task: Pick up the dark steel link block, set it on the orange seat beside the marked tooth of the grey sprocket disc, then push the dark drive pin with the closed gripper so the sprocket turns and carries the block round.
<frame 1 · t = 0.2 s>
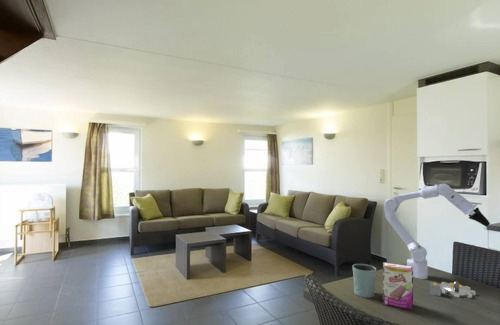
hand: (487, 223, 133), 31 cm above the table, tool tilted 50°, fingers open, 7 cm apart
candy bar box: (397, 305, 118), on the table
sprocket: (455, 285, 130), point 4 cm above the table, hinge at 0.0°
teal cup: (364, 293, 129), on the table
link block: (435, 294, 128), point 1 cm above the table, touching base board
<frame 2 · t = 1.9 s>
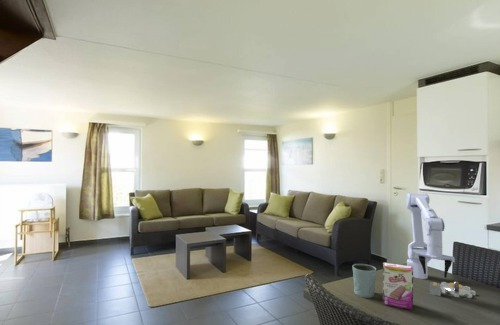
hand: (434, 275, 128), 9 cm above the table, tool pointing down, fingers open, 7 cm apart
nothing on the table moved.
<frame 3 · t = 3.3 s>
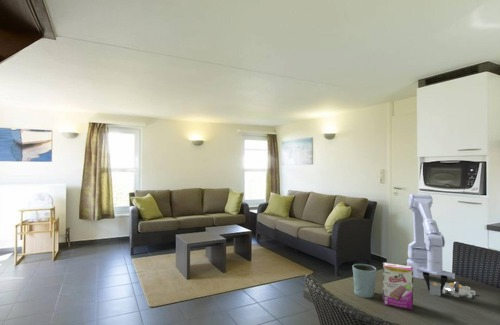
hand: (435, 291, 128), 2 cm above the table, tool pointing down, fingers closed on link block, 4 cm apart
link block: (435, 294, 128), point 1 cm above the table, touching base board, gripper
everything else where it was.
when the fingers open (5 cm above the table, at t = 6.2 s): link block stays where it is, resting on sprocket.
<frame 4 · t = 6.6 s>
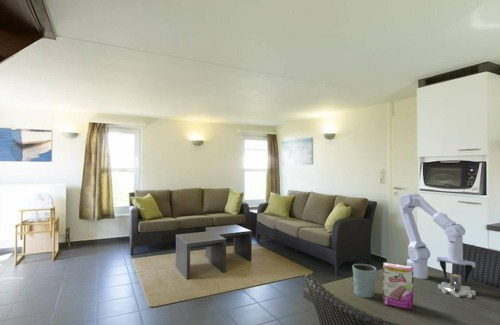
hand: (455, 279, 133), 5 cm above the table, tool pointing down, fingers open, 7 cm apart
sprocket: (455, 285, 130), point 4 cm above the table, hinge at 0.0°, touching link block
link block: (455, 285, 133), point 3 cm above the table, touching sprocket
everything else where it was.
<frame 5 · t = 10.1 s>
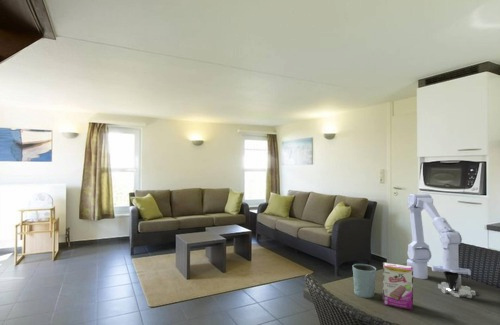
hand: (451, 288, 127), 3 cm above the table, tool pointing down, fingers closed, pressing on sprocket
sprocket: (455, 285, 130), point 4 cm above the table, hinge at 0.0°, touching gripper, link block
everything else where it was.
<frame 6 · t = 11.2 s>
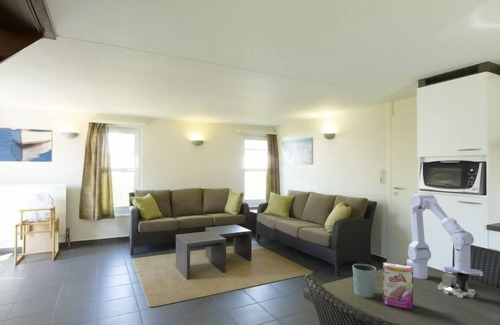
hand: (462, 289, 126), 3 cm above the table, tool pointing down, fingers closed, pressing on sprocket
sprocket: (455, 285, 130), point 4 cm above the table, hinge at 55.4°, touching gripper, link block
link block: (449, 285, 133), point 3 cm above the table, touching sprocket
everything else where it was.
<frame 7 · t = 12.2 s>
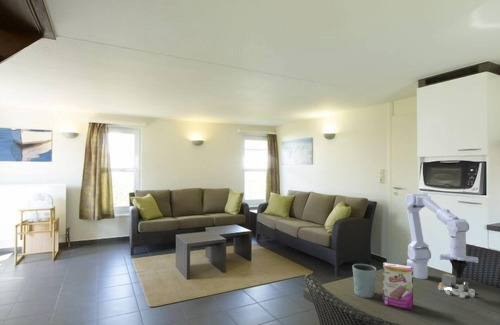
hand: (458, 276, 126), 9 cm above the table, tool pointing down, fingers closed
sprocket: (455, 285, 130), point 4 cm above the table, hinge at 61.4°, touching link block
everything else where it was.
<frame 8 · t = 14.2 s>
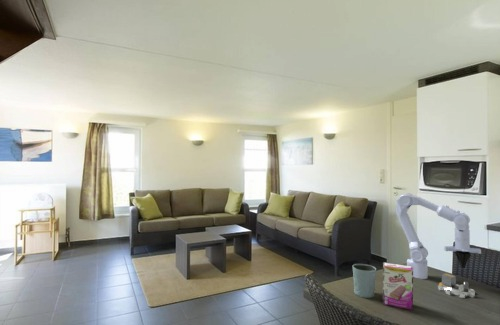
hand: (462, 267, 136), 10 cm above the table, tool pointing down, fingers closed
nothing on the table moved.
at the end: sprocket at +61° (first picture: +0°); link block 3.0 cm from the sprocket (horizontally); link block point 2.6 cm above the table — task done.
